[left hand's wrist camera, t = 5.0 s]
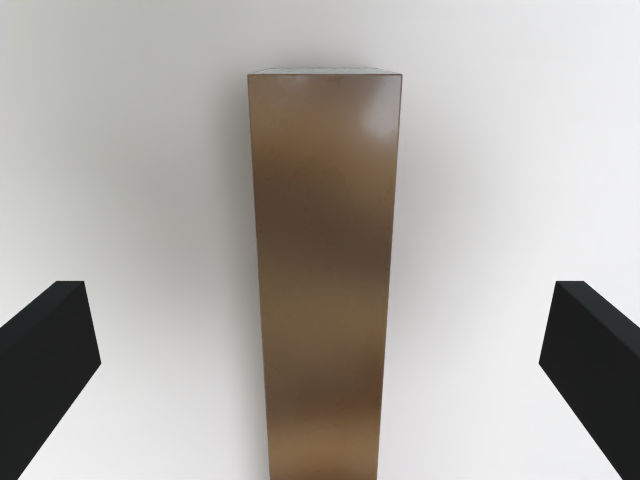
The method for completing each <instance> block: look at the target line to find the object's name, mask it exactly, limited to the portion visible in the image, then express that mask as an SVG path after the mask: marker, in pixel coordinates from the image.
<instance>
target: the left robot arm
mask: <svg viewBox="0 0 640 480" xmlns="http://www.w3.org/2000/svg"><path fill="white" fill-rule="evenodd" d="M100 365H101V359H100V355H99V350H98V345H97V340H96V336H95V331H94V326H93V321H92V317H91V312H90V307H89V303H88V298H87V293H86V288H85V284H84V281H56V282H55V283H53V284H52V285H51V286H50V287H49V288H47V289H46V290H45V291H44V292H43V293H41V294H40V295H39V296H38V297H37V298H35V299H34V300H33V301H32V302H31V303H29V304H28V305H27V306H26V307H25V308H24V309H22V310H21V311H20V312H19V313H18V314H16V315H15V316H14V317H13V318H12V319H10V320H9V321H8V322H7V323H6V324H4V325H3V326H2V327H1V328H0V480H18V478H19V477H20V475H21V474H22V473H23V471H24V470H25V469H26V467H27V466H28V464H29V463H30V462H31V460H32V459H33V457H34V456H35V455H36V453H37V452H38V451H39V449H40V448H41V446H42V445H43V444H44V442H45V441H46V439H47V438H48V437H49V435H50V434H51V433H52V431H53V430H54V428H55V427H56V426H57V424H58V423H59V421H60V420H61V419H62V417H63V416H64V415H65V413H66V412H67V410H68V409H69V408H70V406H71V405H72V403H73V402H74V401H75V399H76V398H77V397H78V395H79V394H80V392H81V391H82V390H83V388H84V387H85V385H86V384H87V383H88V381H89V380H90V379H91V377H92V376H93V374H94V373H95V372H96V370H97V369H98V367H99V366H100ZM539 365H540V366H541V367H542V369H543V370H544V372H545V373H546V374H547V376H548V377H549V379H550V380H551V381H552V383H553V384H554V385H555V387H556V388H557V390H558V391H559V392H560V394H561V395H562V397H563V398H564V399H565V401H566V402H567V403H568V405H569V406H570V408H571V409H572V410H573V412H574V413H575V415H576V416H577V417H578V419H579V420H580V421H581V423H582V424H583V426H584V427H585V428H586V430H587V431H588V433H589V434H590V435H591V437H592V438H593V439H594V441H595V442H596V444H597V445H598V446H599V448H600V449H601V451H602V452H603V453H604V455H605V456H606V457H607V459H608V460H609V462H610V463H611V464H612V466H613V467H614V469H615V470H616V471H617V473H618V474H619V475H620V477H621V478H622V480H640V328H639V327H638V326H637V325H636V324H634V323H633V322H632V321H631V320H630V319H628V318H627V317H626V316H625V315H624V314H622V313H621V312H620V311H619V310H618V309H616V308H615V307H614V306H613V305H612V304H611V303H609V302H608V301H607V300H606V299H605V298H603V297H602V296H601V295H600V294H599V293H597V292H596V291H595V290H594V289H593V288H591V287H590V286H589V285H588V284H587V283H585V282H584V281H556V284H555V288H554V293H553V298H552V303H551V307H550V312H549V317H548V321H547V326H546V331H545V336H544V340H543V345H542V350H541V355H540V359H539Z"/></svg>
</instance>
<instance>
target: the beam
mask: <svg viewBox="0 0 640 480" xmlns="http://www.w3.org/2000/svg"><path fill="white" fill-rule="evenodd" d="M247 78H248V96H249V114H250V132H251V150H252V167H253V185H254V203H255V221H256V239H257V257H258V274H259V292H260V310H261V328H262V346H263V364H264V381H265V399H266V417H267V435H268V453H269V471H270V480H377V468H378V452H379V436H380V421H381V405H382V389H383V374H384V358H385V342H386V327H387V311H388V295H389V280H390V264H391V248H392V233H393V217H394V201H395V186H396V170H397V154H398V139H399V123H400V107H401V92H402V74H400V73H395V72H391V71H386V70H382V69H377V68H271V69H267V70H263V71H259V72H254V73H250V74H248V75H247Z"/></svg>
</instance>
